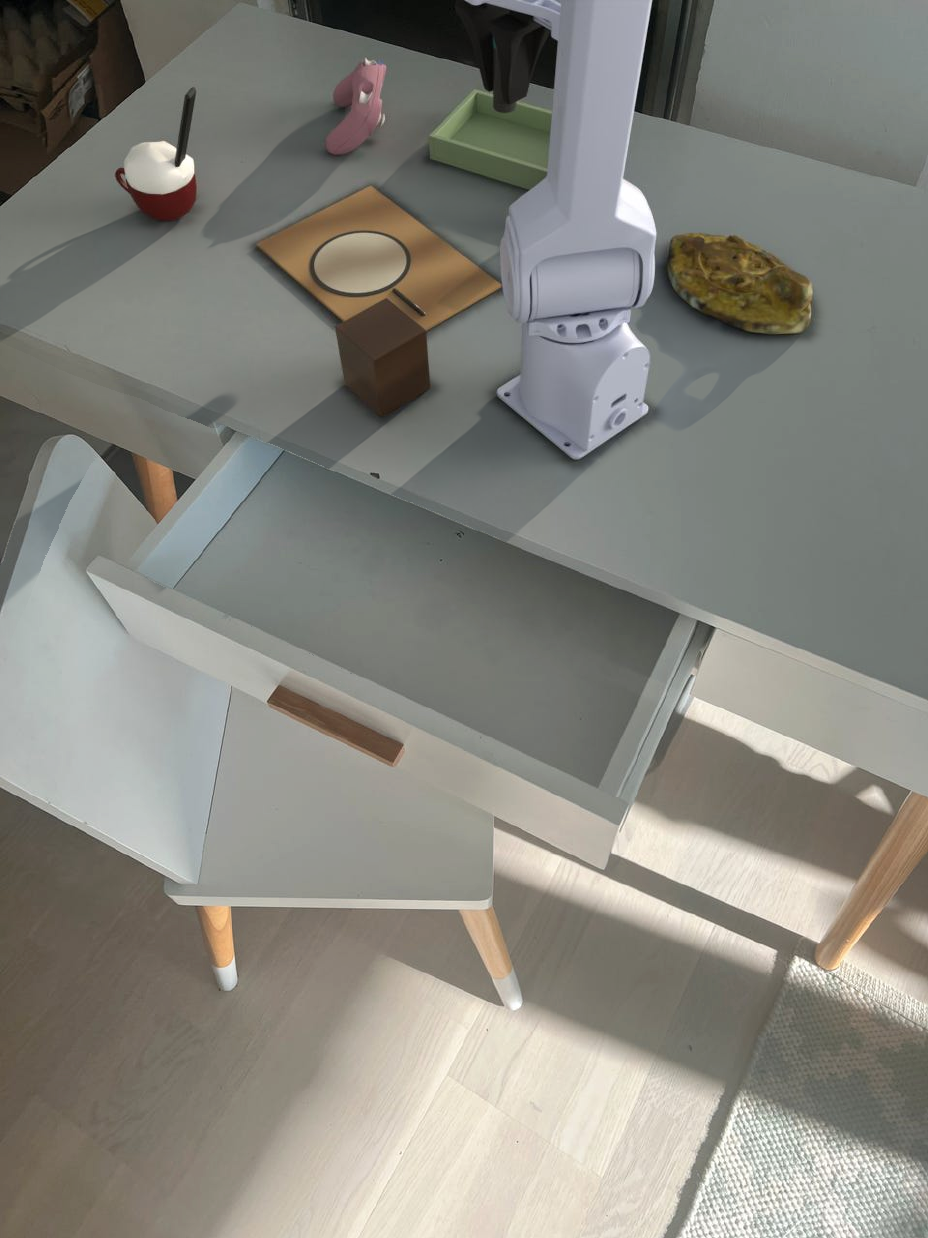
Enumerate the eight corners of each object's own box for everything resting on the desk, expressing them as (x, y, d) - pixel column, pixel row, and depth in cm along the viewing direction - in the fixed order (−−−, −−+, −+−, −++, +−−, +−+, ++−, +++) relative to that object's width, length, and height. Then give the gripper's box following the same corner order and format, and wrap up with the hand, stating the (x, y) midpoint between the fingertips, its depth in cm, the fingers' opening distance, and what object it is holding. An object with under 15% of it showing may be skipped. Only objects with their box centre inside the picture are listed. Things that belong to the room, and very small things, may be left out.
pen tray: (609, 151, 97) (611, 127, 95) (568, 202, 93) (570, 178, 91) (474, 111, 102) (474, 88, 100) (429, 158, 97) (428, 135, 95)
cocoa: (115, 210, 94) (69, 84, 84) (163, 177, 97) (125, 51, 87) (186, 247, 91) (147, 121, 81) (234, 212, 94) (202, 85, 84)
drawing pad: (501, 287, 87) (501, 281, 87) (382, 356, 83) (382, 351, 82) (370, 187, 95) (370, 182, 95) (256, 246, 91) (255, 241, 90)
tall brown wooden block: (430, 388, 81) (426, 329, 76) (381, 418, 79) (373, 360, 74) (393, 355, 83) (386, 296, 78) (344, 384, 81) (334, 326, 76)
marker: (522, 106, 86) (523, 34, 81) (503, 116, 85) (504, 44, 80) (506, 96, 86) (506, 24, 81) (487, 105, 86) (487, 33, 81)
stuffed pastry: (633, 283, 88) (773, 365, 82) (635, 240, 84) (782, 322, 78) (701, 225, 91) (842, 300, 85) (706, 180, 87) (855, 256, 81)
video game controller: (365, 172, 99) (392, 110, 94) (321, 153, 97) (346, 89, 92) (372, 115, 104) (397, 54, 99) (330, 96, 103) (353, 33, 97)
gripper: (403, -107, 75) (415, 74, 86) (531, -37, 69) (526, 148, 80) (475, -135, 77) (478, 45, 89) (606, -70, 71) (590, 114, 83)
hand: (505, 92), depth 85 cm, fingers closed on marker, 2 cm apart
